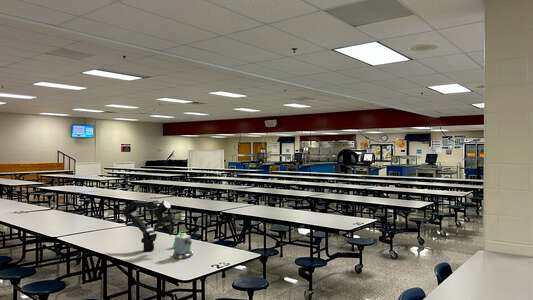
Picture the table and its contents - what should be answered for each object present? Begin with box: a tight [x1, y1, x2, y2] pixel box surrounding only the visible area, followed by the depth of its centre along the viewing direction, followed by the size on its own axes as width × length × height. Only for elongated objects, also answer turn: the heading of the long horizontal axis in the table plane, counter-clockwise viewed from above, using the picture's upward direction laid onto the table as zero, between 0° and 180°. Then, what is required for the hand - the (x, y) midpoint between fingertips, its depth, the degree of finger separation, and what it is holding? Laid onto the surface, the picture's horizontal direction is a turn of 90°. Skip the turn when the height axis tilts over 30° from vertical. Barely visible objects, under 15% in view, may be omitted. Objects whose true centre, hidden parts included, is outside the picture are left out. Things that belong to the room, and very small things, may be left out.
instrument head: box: [173, 232, 193, 254], centre depth 245 cm, size 10×10×13 cm
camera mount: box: [172, 232, 193, 248], centre depth 271 cm, size 12×8×10 cm, turn 152°
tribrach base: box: [172, 250, 194, 261], centre depth 246 cm, size 13×13×4 cm
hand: (171, 235), depth 251 cm, fingers closed
